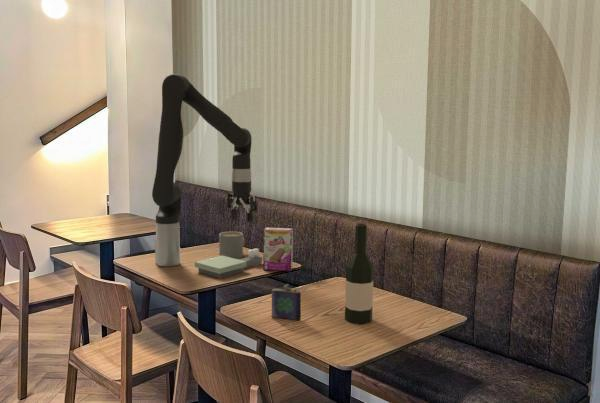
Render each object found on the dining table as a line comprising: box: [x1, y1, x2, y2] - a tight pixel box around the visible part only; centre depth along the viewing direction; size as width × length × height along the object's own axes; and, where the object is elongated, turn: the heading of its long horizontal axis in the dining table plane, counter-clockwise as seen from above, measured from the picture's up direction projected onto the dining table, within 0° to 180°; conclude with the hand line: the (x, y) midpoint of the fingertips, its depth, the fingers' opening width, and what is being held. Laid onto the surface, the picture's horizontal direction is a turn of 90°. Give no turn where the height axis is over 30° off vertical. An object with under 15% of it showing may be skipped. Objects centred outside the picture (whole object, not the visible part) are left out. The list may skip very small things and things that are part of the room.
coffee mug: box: [218, 230, 245, 260], centre depth 259 cm, size 13×10×10 cm
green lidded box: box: [194, 255, 246, 279], centre depth 235 cm, size 14×14×4 cm
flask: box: [271, 283, 302, 322], centre depth 185 cm, size 9×3×11 cm, turn 72°
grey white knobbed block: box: [238, 248, 263, 270], centre depth 245 cm, size 4×12×6 cm, turn 139°
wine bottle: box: [344, 221, 375, 325], centre depth 183 cm, size 8×8×30 cm
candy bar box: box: [262, 226, 294, 272], centre depth 239 cm, size 11×5×16 cm, turn 84°
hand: (242, 220), depth 240 cm, fingers open, 8 cm apart
